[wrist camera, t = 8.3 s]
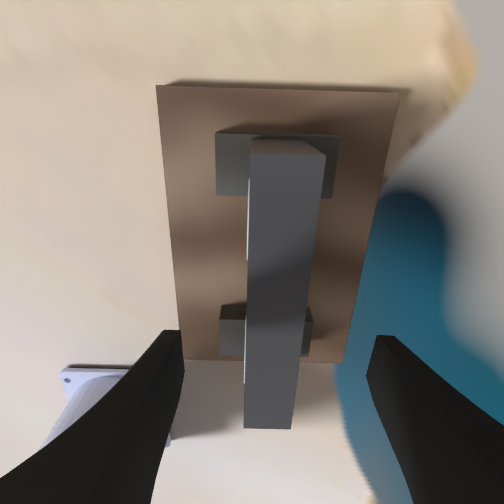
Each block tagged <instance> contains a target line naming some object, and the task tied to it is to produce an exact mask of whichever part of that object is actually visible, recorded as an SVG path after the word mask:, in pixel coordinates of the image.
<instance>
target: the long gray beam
mask: <svg viewBox="0 0 504 504" xmlns="http://www.w3.org/2000/svg"><path fill="white" fill-rule="evenodd" d="M325 161H326V155H325V154H323V153H322V152H320V151H319V150H317V149H316V148H315V147H313V146H312V145H310V144H309V143H307V142H306V141H305V140H292V139H259V138H251V151H250V178H249V187H248V221H247V260H248V269H247V310H246V323H245V355H244V383H245V391H244V428H255V429H291V423H292V415H293V407H294V400H295V392H296V384H297V377H298V369H299V361H300V354H301V346H302V338H303V331H304V323H305V315H306V307H307V300H308V292H309V284H310V277H311V269H312V261H313V254H314V246H315V238H316V231H317V223H318V215H319V207H320V200H321V192H322V184H323V177H324V169H325Z"/></svg>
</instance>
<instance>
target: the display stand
mask: <svg viewBox="0 0 504 504" xmlns="http://www.w3.org/2000/svg"><path fill="white" fill-rule="evenodd" d="M156 93H157V104H158V114H159V124H160V135H161V145H162V155H163V165H164V176H165V186H166V196H167V207H168V217H169V227H170V238H171V248H172V258H173V268H174V279H175V289H176V299H177V310H178V320H179V330H181V338H182V348H183V359H192V360H234V361H244V355H245V323H246V310H247V269H248V260H247V221H248V187H249V178H250V151H251V138H259V139H292V140H305V141H306V142H307V143H309V144H310V145H312V146H313V147H315V148H316V149H317V150H319V151H320V152H322V153H323V154H325V155H326V161H325V169H324V177H323V184H322V192H321V200H320V207H319V215H318V223H317V231H316V238H315V246H314V254H313V261H312V269H311V277H310V284H309V292H308V300H307V307H306V315H305V323H304V331H303V338H302V346H301V354H300V361H299V362H317V363H342V362H343V357H344V352H345V347H346V343H347V338H348V333H349V329H350V324H351V320H352V315H353V310H354V305H355V301H356V296H357V292H358V287H359V282H360V277H361V273H362V268H363V264H364V259H365V254H366V250H367V245H368V240H369V236H370V230H371V226H372V222H373V217H374V212H375V208H376V203H377V198H378V194H379V189H380V184H381V180H382V175H383V170H384V166H385V161H386V156H387V152H388V147H389V142H390V138H391V133H392V128H393V124H394V119H395V114H396V110H397V105H398V100H399V96H400V93H386V92H355V91H324V90H292V89H261V88H229V87H198V86H166V85H156Z"/></svg>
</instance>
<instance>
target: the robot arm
mask: <svg viewBox="0 0 504 504" xmlns="http://www.w3.org/2000/svg"><path fill="white" fill-rule="evenodd" d="M184 372H185V370H184V359H183V348H182V338H181V330H163V331H162V332H161V333H160V335H159V336H158V337H157V338H156V339H155V341H154V342H153V343H152V344H151V346H150V347H149V348H148V349H147V350H146V351H145V353H144V354H143V355H142V356H141V357H140V358H139V359H138V361H137V362H136V363H135V364H134V365H133V366H132V367H131V368H130V369H90V368H64V369H62V371H61V372H60V377H61V380H62V383H63V386H64V389H65V392H66V395H67V398H68V401H69V402H68V404H67V405H66V407H65V409H64V410H63V412H62V413H61V415H60V417H59V418H58V420H57V422H56V423H55V425H54V426H53V428H52V430H51V431H50V433H49V434H48V436H47V438H46V439H45V441H44V442H43V444H42V446H41V447H40V449H39V451H38V452H37V453H35V454H34V455H32V456H31V457H30V458H28V459H27V460H25V461H24V462H23V463H21V464H20V465H18V466H17V467H16V468H14V469H13V470H11V471H10V472H9V473H7V474H6V475H4V476H3V477H1V478H0V504H150V503H151V498H152V493H153V489H154V484H155V480H156V476H157V472H158V468H159V465H160V461H161V458H162V455H163V451H164V448H165V447H169V446H170V443H171V437H170V429H171V425H172V422H173V419H174V415H175V412H176V409H177V406H178V402H179V399H180V394H181V388H182V383H183V378H184ZM366 377H367V381H368V384H369V388H370V392H371V395H372V399H373V402H374V405H375V407H376V409H377V412H378V414H379V417H380V419H381V422H382V424H383V427H384V429H385V431H386V433H387V436H388V438H389V441H390V443H391V445H392V448H393V450H394V453H395V455H396V457H397V460H398V462H399V464H400V467H401V469H402V472H403V474H404V477H405V479H406V482H407V485H408V488H409V491H410V494H411V497H412V500H413V503H414V504H504V426H503V425H502V424H501V423H499V422H498V421H497V420H495V419H494V418H492V417H491V416H490V415H488V414H487V413H485V412H484V411H483V410H481V409H480V408H479V407H478V406H476V405H475V404H474V403H472V402H471V401H470V400H469V399H467V398H466V397H465V396H463V395H462V394H461V393H460V392H458V391H457V390H456V389H455V388H453V387H452V386H451V385H450V384H449V383H448V382H446V381H445V380H444V379H443V378H442V377H440V376H439V375H438V374H437V373H436V372H435V371H433V370H432V369H431V368H430V367H429V366H428V365H426V364H425V363H424V362H423V361H422V360H421V359H420V358H419V357H418V356H416V355H415V354H414V353H413V352H412V351H411V350H410V349H408V348H407V347H406V346H405V345H404V344H403V343H402V342H400V341H399V340H398V339H397V338H396V337H395V336H386V335H377V337H376V340H375V344H374V348H373V352H372V355H371V359H370V363H369V366H368V370H367V374H366Z"/></svg>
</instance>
